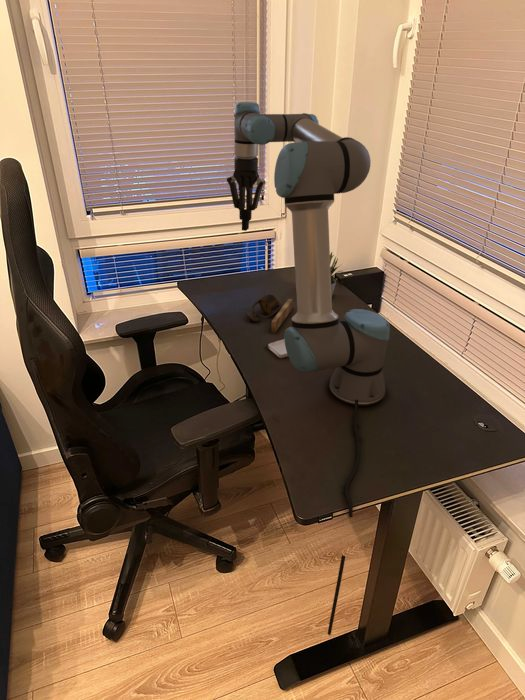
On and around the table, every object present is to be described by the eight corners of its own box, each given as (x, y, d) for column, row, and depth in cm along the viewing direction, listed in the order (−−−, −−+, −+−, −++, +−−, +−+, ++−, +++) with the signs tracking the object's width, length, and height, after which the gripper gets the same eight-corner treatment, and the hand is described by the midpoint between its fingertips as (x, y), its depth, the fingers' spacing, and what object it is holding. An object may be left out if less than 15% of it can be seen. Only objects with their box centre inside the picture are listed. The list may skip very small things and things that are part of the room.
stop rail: (275, 332, 165) (275, 322, 162) (271, 332, 165) (271, 321, 163) (291, 309, 179) (292, 299, 177) (288, 308, 179) (288, 298, 177)
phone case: (305, 335, 164) (267, 347, 157) (306, 332, 163) (267, 343, 156) (319, 346, 158) (280, 358, 151) (320, 342, 158) (280, 355, 151)
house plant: (306, 285, 197) (310, 245, 189) (342, 288, 196) (347, 248, 187) (303, 300, 185) (307, 259, 177) (341, 304, 184) (346, 262, 175)
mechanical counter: (288, 305, 170) (277, 288, 176) (254, 308, 165) (244, 289, 171) (284, 321, 174) (273, 304, 181) (250, 324, 169) (240, 306, 176)
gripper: (269, 156, 160) (266, 228, 172) (232, 152, 163) (232, 223, 176) (261, 161, 154) (259, 235, 166) (222, 156, 157) (223, 229, 170)
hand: (245, 229), depth 171 cm, fingers closed
